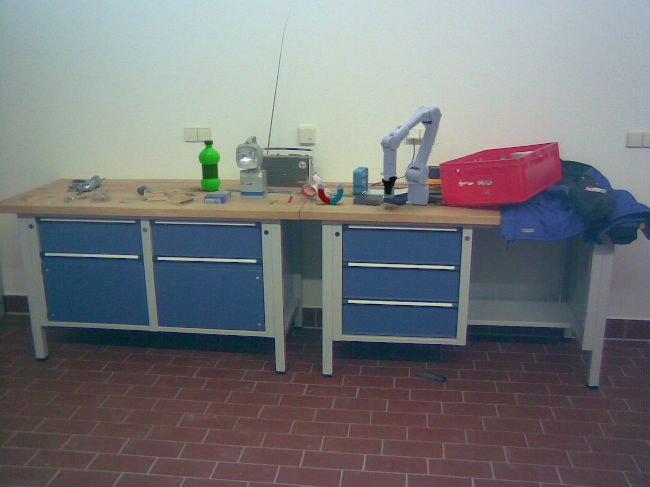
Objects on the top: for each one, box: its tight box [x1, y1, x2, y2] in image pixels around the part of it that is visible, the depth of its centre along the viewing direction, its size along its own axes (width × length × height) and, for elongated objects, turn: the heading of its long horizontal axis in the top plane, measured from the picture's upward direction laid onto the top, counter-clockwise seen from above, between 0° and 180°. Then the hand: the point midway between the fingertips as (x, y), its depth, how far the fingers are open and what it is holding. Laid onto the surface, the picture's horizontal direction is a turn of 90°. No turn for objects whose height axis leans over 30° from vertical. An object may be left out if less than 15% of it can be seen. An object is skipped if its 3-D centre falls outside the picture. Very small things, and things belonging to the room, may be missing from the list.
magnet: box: [317, 181, 344, 206], centre depth 298 cm, size 12×3×10 cm, turn 86°
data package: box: [352, 166, 369, 195], centre depth 323 cm, size 12×4×12 cm, turn 161°
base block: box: [352, 193, 385, 207], centre depth 303 cm, size 12×12×2 cm
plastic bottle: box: [198, 139, 222, 192], centre depth 327 cm, size 10×10×25 cm
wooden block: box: [383, 185, 395, 199], centre depth 291 cm, size 4×4×4 cm
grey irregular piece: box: [67, 175, 107, 195], centre depth 332 cm, size 6×28×16 cm
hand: (389, 193), depth 291 cm, fingers closed on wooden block, 4 cm apart
